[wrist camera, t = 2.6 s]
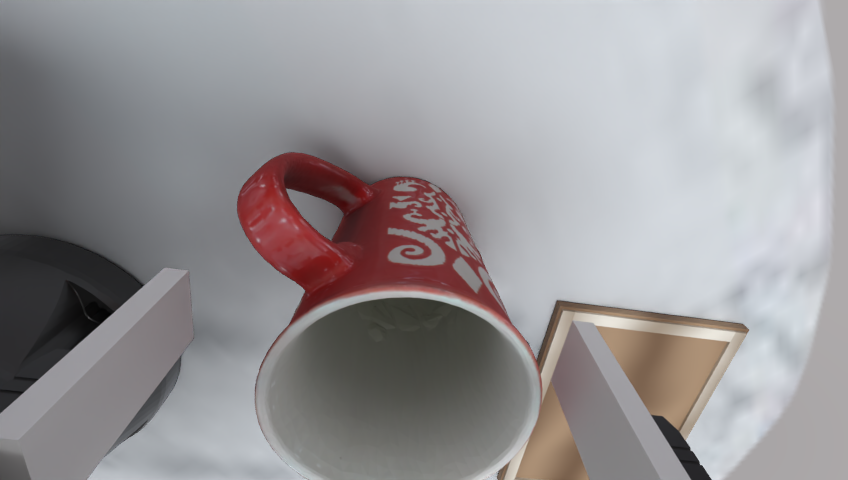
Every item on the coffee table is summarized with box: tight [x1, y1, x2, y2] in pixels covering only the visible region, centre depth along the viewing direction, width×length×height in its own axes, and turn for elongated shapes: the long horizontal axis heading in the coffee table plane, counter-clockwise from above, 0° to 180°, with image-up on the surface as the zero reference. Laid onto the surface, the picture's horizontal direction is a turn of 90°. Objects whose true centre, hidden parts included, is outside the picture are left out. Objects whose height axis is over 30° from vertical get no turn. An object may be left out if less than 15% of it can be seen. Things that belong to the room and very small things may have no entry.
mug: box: [237, 152, 542, 480], centre depth 19 cm, size 13×9×14 cm
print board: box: [497, 301, 749, 480], centre depth 32 cm, size 13×17×1 cm
